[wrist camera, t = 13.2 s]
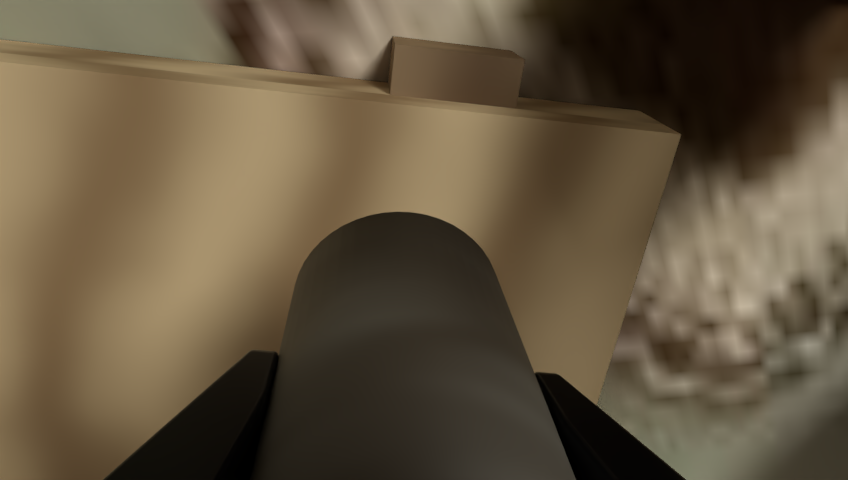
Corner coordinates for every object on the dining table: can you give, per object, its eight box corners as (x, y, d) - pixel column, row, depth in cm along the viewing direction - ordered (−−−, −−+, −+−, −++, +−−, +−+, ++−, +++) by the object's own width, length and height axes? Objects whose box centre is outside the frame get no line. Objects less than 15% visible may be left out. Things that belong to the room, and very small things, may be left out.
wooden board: (650, 67, 21) (696, 85, 18) (538, 471, 28) (557, 529, 26) (-40, -17, 18) (-119, -12, 15) (49, 457, 26) (9, 520, 23)
